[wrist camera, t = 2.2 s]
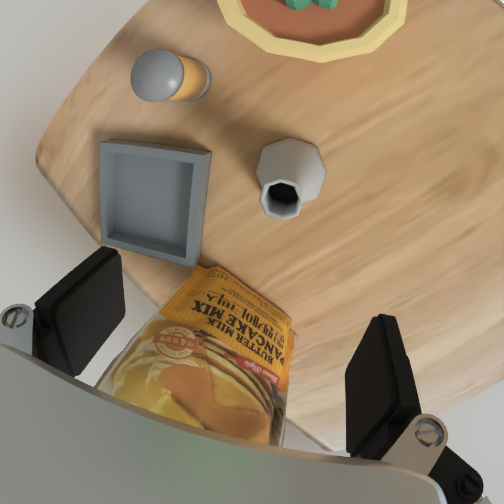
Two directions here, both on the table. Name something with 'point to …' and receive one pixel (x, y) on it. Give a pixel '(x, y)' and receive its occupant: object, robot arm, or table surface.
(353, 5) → the potted cactus
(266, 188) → the flask
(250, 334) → the pancake mix bag
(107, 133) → the table surface
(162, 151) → the tray
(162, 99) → the fuse
